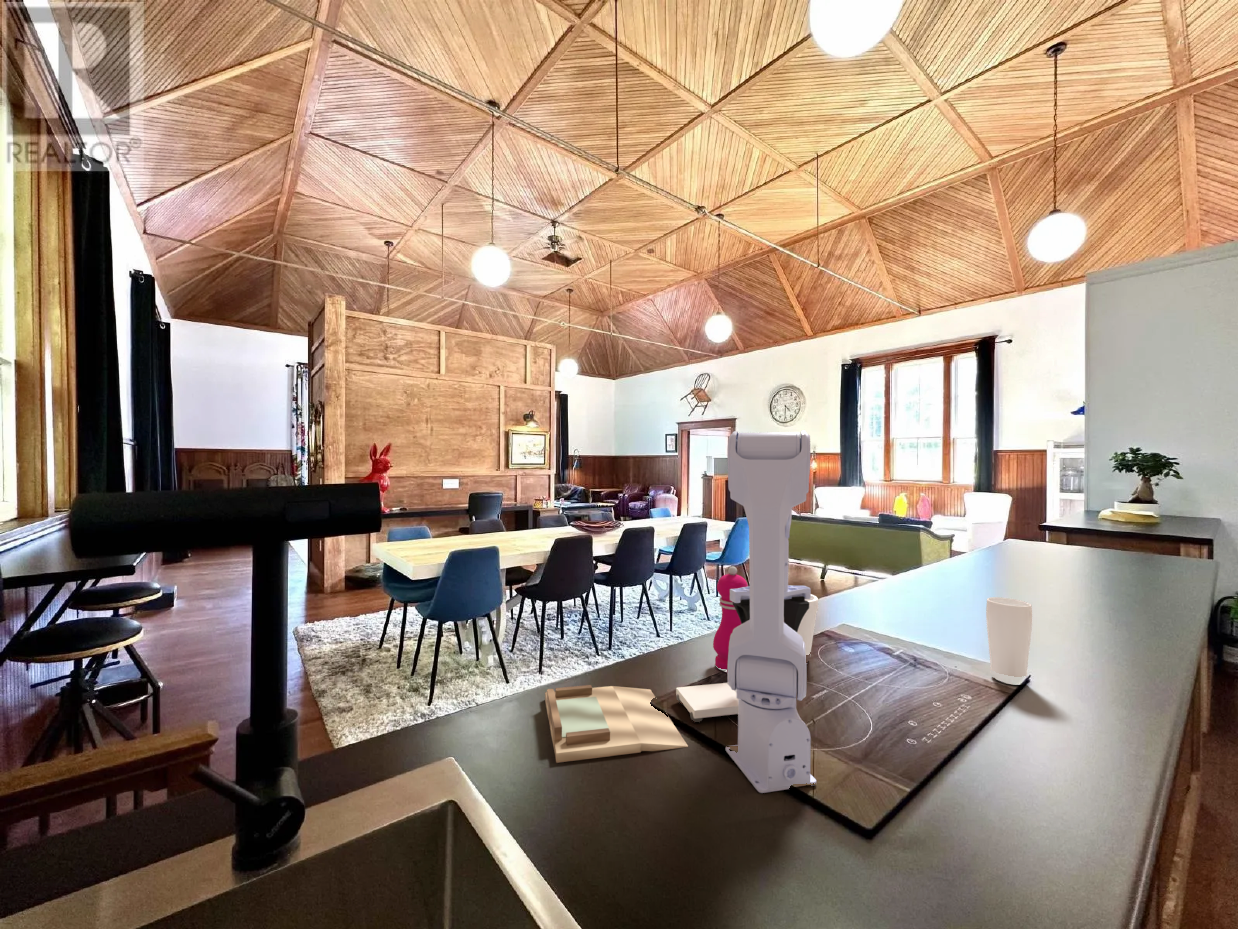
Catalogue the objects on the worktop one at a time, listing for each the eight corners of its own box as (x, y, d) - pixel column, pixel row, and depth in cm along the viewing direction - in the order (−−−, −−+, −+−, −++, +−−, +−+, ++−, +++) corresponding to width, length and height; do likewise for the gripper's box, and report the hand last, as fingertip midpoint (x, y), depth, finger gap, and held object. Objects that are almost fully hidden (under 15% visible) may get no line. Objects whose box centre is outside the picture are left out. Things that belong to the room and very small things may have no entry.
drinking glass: (1041, 689, 88) (1042, 607, 88) (1003, 688, 88) (1004, 606, 89) (1012, 674, 95) (1012, 597, 95) (977, 673, 95) (977, 596, 95)
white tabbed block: (760, 718, 76) (761, 703, 76) (693, 726, 74) (693, 710, 74) (737, 695, 84) (737, 681, 84) (674, 701, 81) (675, 687, 82)
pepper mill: (751, 677, 92) (752, 571, 92) (712, 673, 93) (714, 569, 93) (749, 662, 99) (750, 564, 99) (712, 659, 100) (714, 562, 100)
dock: (688, 753, 68) (688, 724, 68) (556, 770, 64) (556, 739, 64) (650, 695, 86) (650, 672, 86) (544, 705, 81) (545, 681, 81)
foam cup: (809, 671, 95) (809, 604, 95) (762, 659, 100) (763, 596, 100) (822, 657, 102) (823, 595, 102) (778, 647, 108) (779, 588, 108)
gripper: (794, 557, 90) (793, 631, 89) (722, 560, 86) (721, 637, 86) (818, 565, 83) (817, 645, 82) (741, 567, 79) (740, 651, 79)
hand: (770, 642), depth 84 cm, fingers open, 7 cm apart
